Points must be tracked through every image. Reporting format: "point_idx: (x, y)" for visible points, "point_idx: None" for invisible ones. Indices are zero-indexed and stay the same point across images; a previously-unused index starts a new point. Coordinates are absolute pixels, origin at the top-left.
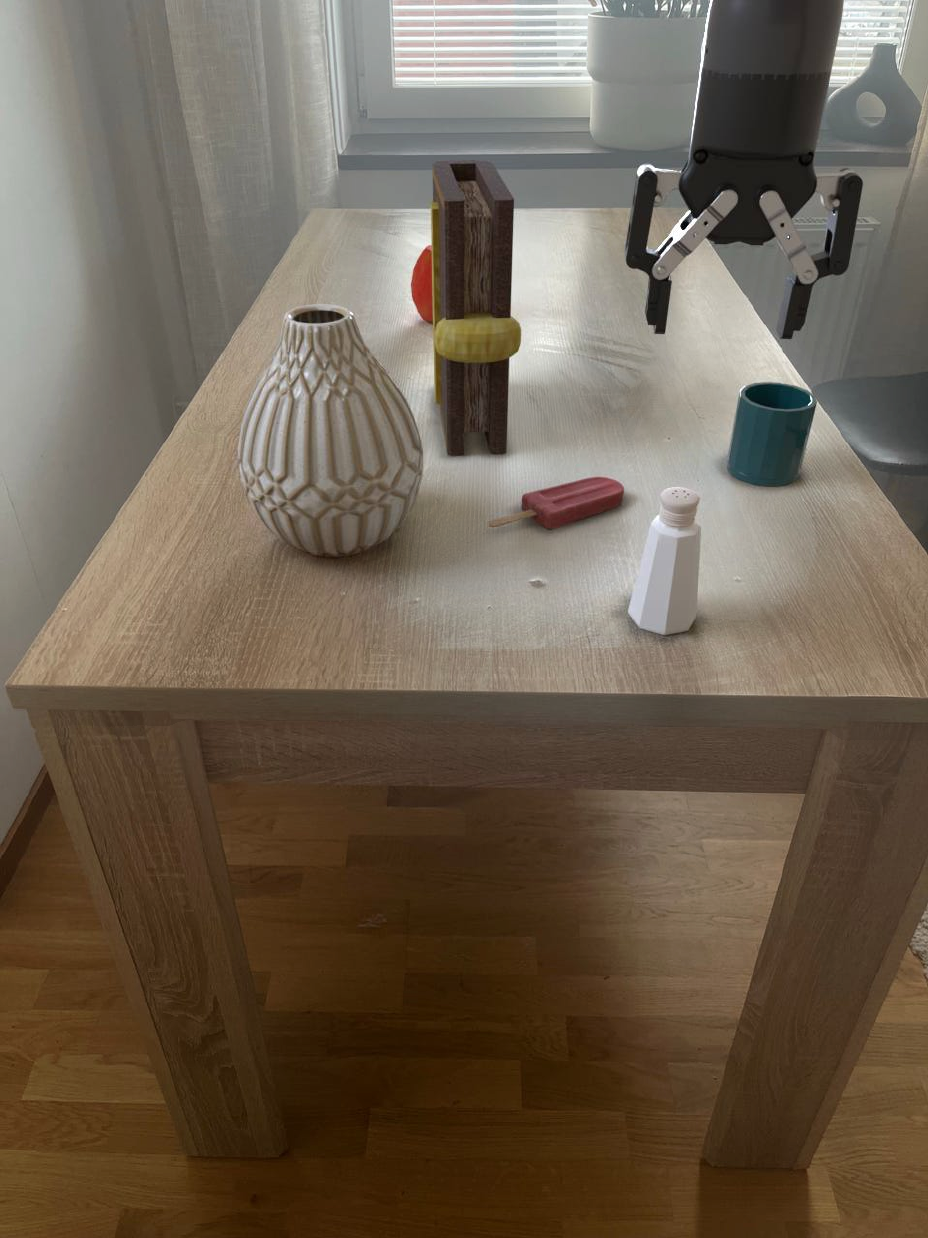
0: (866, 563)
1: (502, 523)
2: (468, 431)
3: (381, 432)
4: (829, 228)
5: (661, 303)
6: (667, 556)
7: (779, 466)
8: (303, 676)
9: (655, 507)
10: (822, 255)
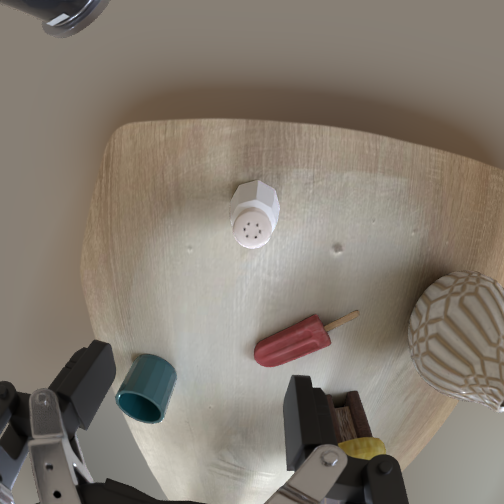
0: (105, 264)
1: (350, 314)
2: (344, 407)
3: (470, 324)
4: (9, 457)
5: (312, 410)
6: (262, 197)
7: (144, 363)
8: (466, 165)
9: (232, 339)
10: (25, 426)
